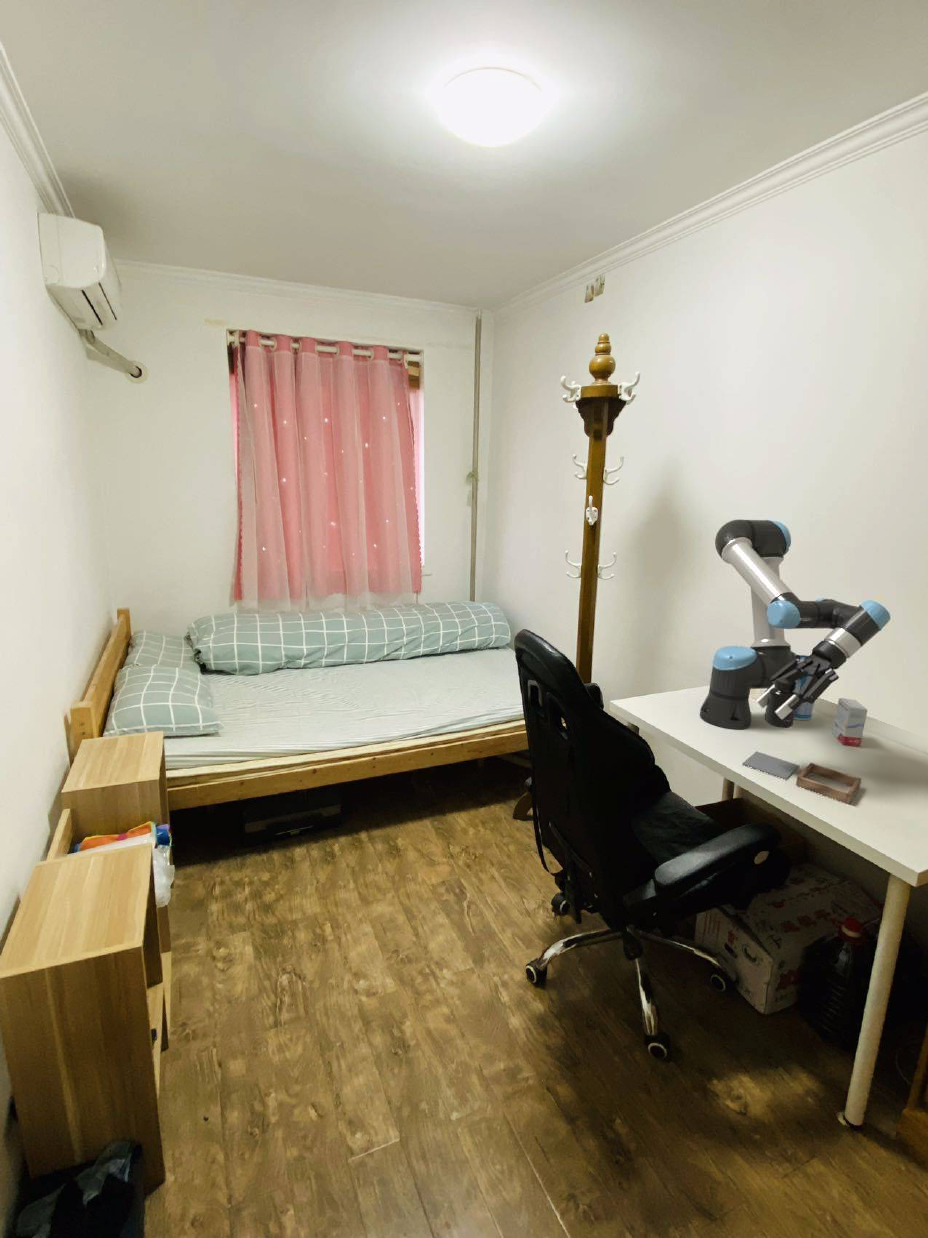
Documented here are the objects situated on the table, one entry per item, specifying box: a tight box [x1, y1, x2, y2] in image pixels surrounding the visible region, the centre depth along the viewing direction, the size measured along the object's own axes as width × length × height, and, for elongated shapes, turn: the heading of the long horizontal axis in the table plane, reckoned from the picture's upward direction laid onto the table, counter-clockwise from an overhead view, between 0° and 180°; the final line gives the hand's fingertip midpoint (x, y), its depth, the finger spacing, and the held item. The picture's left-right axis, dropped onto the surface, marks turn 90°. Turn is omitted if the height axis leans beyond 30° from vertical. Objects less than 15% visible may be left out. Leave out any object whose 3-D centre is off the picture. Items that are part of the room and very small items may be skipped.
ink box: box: [831, 697, 868, 747], centre depth 179 cm, size 9×5×12 cm, turn 168°
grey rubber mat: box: [741, 751, 800, 781], centre depth 162 cm, size 11×11×1 cm
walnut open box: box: [795, 762, 862, 805], centre depth 152 cm, size 12×12×2 cm
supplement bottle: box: [764, 678, 798, 729], centre depth 158 cm, size 7×7×12 cm
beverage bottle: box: [794, 654, 815, 721], centre depth 195 cm, size 8×8×20 cm
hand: (768, 709), depth 157 cm, fingers closed on supplement bottle, 7 cm apart
